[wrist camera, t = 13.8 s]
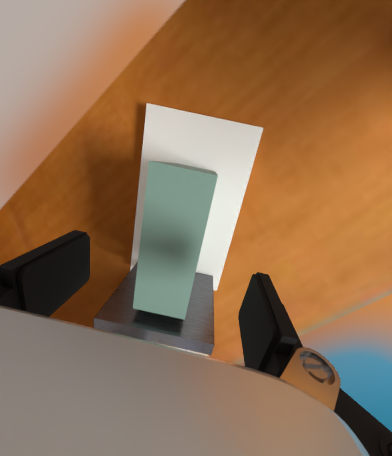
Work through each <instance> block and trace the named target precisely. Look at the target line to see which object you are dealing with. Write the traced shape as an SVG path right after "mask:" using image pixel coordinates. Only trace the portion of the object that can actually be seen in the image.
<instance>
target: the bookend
mask: <svg viewBox="0 0 392 456" xmlns="http://www.w3.org/2000/svg"><path fill="white" fill-rule="evenodd" d="M137 265H138V261H137V263H136V264H135V265H134V267H133V268H132V269H131V271H130V272H129V273H128V274H127V276H126V277H125V278H124V280H123V281H122V282H121V284H120V285H119V286H118V287H117V289H116V290H115V291H114V293H113V294H112V295H111V297H110V298H109V299H108V301H107V302H106V303H105V304H104V306H103V307H102V308H101V310H100V311H99V312H98V314H97V315H96V316H95V317H94V328H96V329H100V330H104V331H108V332H113V333H117V334H121V335H125V336H129V337H133V338H137V339H141V340H145V341H149V342H153V343H158V344H162V345H167V346H171V347H176V348H180V349H185V350H189V351H194V352H198V353H203V354H207V355H211V354H212V350H213V347H214V302H213V276H211V275H207V274H202V273H198V272H196V273H195V277H194V281H193V286H192V290H191V294H190V299H189V303H188V307H187V312H186V316H185V320H184V319H179V318H175V317H170V316H165V315H161V314H156V313H152V312H147V311H143V310H138V309H134V308H133V302H134V293H135V284H136V275H137Z"/></svg>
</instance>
